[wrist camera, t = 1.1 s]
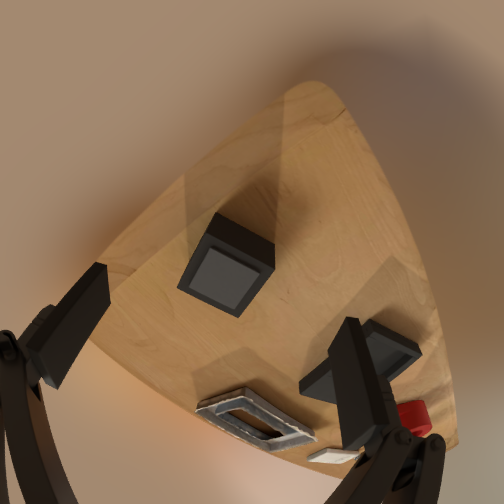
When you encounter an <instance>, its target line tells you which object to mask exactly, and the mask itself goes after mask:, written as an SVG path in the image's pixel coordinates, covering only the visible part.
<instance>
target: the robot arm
mask: <svg viewBox="0 0 504 504" xmlns="http://www.w3.org/2000/svg"><path fill="white" fill-rule="evenodd" d="M110 304H111V301H110V293H109V284H108V273H107V265H105V264H102V263H98V262H95V263H94V264H93V265H92V266H91V267H90V268H89V269H88V270H87V271H86V272H85V273H84V275H83V276H82V277H81V278H80V279H79V280H78V281H77V282H76V283H75V285H74V286H73V287H72V288H71V289H70V290H69V291H68V293H67V294H66V295H65V296H64V297H63V298H62V300H61V301H60V302H59V303H58V304H57V305H56V306H53V305H51V304H50V305H48V306H47V307H45V308H43V309H42V310H41V311H40V312H39V314H38V315H37V316H36V317H35V318H34V320H33V321H32V323H30V325H29V326H28V327H27V328H26V330H25V331H24V332H23V334H22V335H21V336H20V337H19V339H18V340H16V338H15V335H14V334H13V333H12V332H11V331H9V330H2V331H0V504H10V503H9V496H8V488H7V480H6V467H5V431H6V437H7V442H8V446H9V451H10V455H11V459H12V463H13V466H14V469H15V473H16V477H17V480H18V483H19V486H20V489H21V492H22V495H23V497H24V500H25V502H26V504H78V502H77V499H76V498H75V495H74V493H73V491H72V489H71V486H70V484H69V481H68V479H67V477H66V474H65V472H64V469H63V466H62V464H61V461H60V458H59V455H58V452H57V449H56V446H55V443H54V440H53V437H52V433H51V430H50V426H49V422H48V419H47V414H46V410H45V406H44V401H43V396H42V392H41V387H40V383H39V380H40V378H41V377H42V378H43V380H44V381H45V383H46V384H48V385H49V386H51V387H53V388H55V389H57V390H58V388H59V386H60V385H61V383H62V381H63V379H64V378H65V376H66V374H67V372H68V371H69V369H70V367H71V365H72V364H73V362H74V361H75V359H76V357H77V356H78V354H79V352H80V350H81V349H82V347H83V346H84V344H85V342H86V341H87V339H88V338H89V336H90V335H91V333H92V331H93V330H94V328H95V327H96V325H97V324H98V322H99V321H100V319H101V318H102V316H103V315H104V313H105V312H106V310H107V309H108V307H109V306H110ZM328 355H329V360H330V366H331V372H332V378H333V384H334V390H335V396H336V402H337V409H338V416H339V423H340V430H341V437H342V445H343V451H348V450H358V449H359V448H361V447H362V446H363V445H364V448H365V451H364V452H362V453H361V454H360V455H358V456H357V457H356V458H355V459H354V460H357V459H358V460H357V461H356V463H355V464H354V466H353V467H352V468H351V470H350V471H349V473H348V474H347V475H346V477H345V478H344V479H343V481H342V482H341V483H340V485H339V486H338V487H337V488H336V490H335V491H334V492H333V493H332V495H331V496H330V497H329V498H328V499H327V501H326V502H325V503H324V504H381V503H382V504H437V501H438V497H439V492H440V486H441V481H442V474H443V467H444V459H445V451H446V443H445V441H444V439H443V437H442V436H441V435H439V434H435V433H433V434H431V435H429V436H428V437H427V438H423V437H418V436H414V435H412V433H411V431H410V430H409V429H408V428H406V427H404V426H402V423H401V420H400V416H399V412H398V409H397V405H396V402H395V400H394V395H393V393H392V389H391V386H390V383H389V381H388V380H387V379H386V377H385V376H384V375H377V374H376V371H375V367H374V364H373V361H372V358H371V354H370V351H369V348H368V345H367V342H366V339H365V336H364V333H363V330H362V327H361V324H360V321H359V318H353V317H347V316H346V318H345V320H344V322H343V324H342V325H341V327H340V329H339V331H338V333H337V335H336V336H335V338H334V340H333V342H332V343H331V345H330V347H329V349H328ZM382 501H383V502H382Z"/></svg>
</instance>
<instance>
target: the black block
mask: <svg viewBox="0 0 504 504" xmlns="http://www.w3.org/2000/svg"><path fill="white" fill-rule="evenodd" d="M274 270H275V244H273V243H271V242H269V241H268V240H266V239H264V238H262V237H260V236H259V235H257V234H255V233H253V232H251V231H250V230H248V229H246V228H244V227H242V226H240V225H239V224H237V223H235V222H233V221H231V220H229V219H228V218H226V217H224V216H222V215H220V214H218V213H217V212H216V213H215V214H214V216H213V218H212V220H211V222H210V223H209V225H208V227H207V229H206V231H205V233H204V235H203V236H202V238H201V240H200V242H199V244H198V246H197V248H196V250H195V251H194V253H193V255H192V257H191V259H190V261H189V263H188V265H187V267H186V269H185V271H184V273H183V275H182V277H181V279H180V282H179V284H178V286H177V288H178V289H180V290H182V291H184V292H186V293H188V294H190V295H192V296H194V297H195V298H197V299H199V300H202V301H204V302H206V303H208V304H210V305H212V306H214V307H216V308H218V309H220V310H222V311H224V312H226V313H228V314H230V315H233V316H235V317H237V318H239V317H240V315H241V314H242V313H243V312H244V310H245V309H246V308H247V306H248V305H249V304H250V302H251V301H252V300H253V298H254V297H255V296H256V294H257V293H258V292H259V290H260V289H261V288H262V286H263V285H264V284H265V282H266V281H267V280H268V278H269V277H270V276H271V274H272V273H273V272H274Z"/></svg>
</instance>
